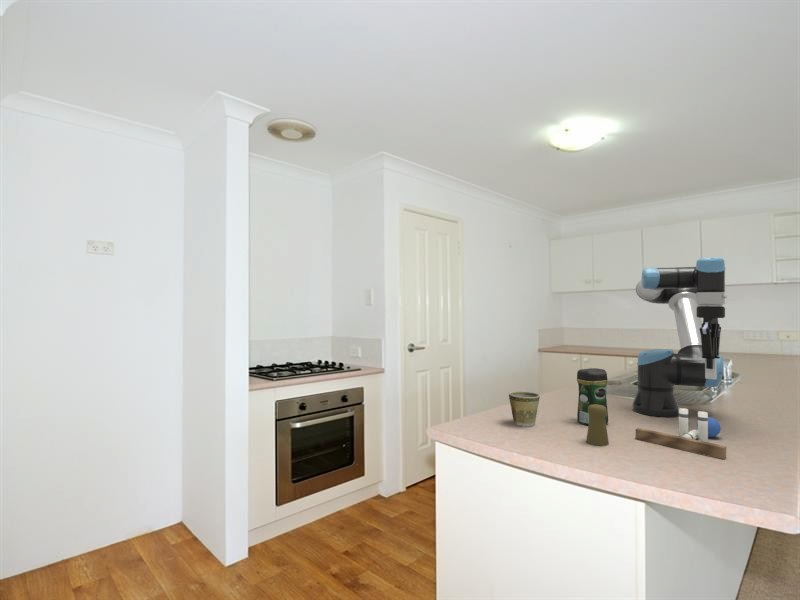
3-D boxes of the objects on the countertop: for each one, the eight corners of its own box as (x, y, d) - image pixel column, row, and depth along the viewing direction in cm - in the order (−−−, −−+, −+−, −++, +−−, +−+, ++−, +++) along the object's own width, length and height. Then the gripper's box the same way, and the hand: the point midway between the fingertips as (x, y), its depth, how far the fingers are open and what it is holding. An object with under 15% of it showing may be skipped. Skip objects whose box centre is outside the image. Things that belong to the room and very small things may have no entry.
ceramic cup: (533, 430, 140) (533, 398, 140) (504, 424, 146) (504, 394, 146) (546, 421, 150) (546, 392, 151) (519, 416, 157) (519, 388, 157)
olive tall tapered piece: (611, 446, 124) (611, 407, 124) (588, 445, 125) (588, 406, 125) (605, 440, 130) (605, 403, 130) (584, 438, 131) (584, 402, 131)
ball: (705, 409, 134) (702, 419, 138) (694, 422, 132) (691, 431, 136) (727, 421, 130) (722, 431, 134) (715, 435, 128) (711, 444, 132)
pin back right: (697, 441, 128) (697, 412, 128) (698, 439, 130) (698, 410, 130) (707, 443, 127) (707, 413, 127) (708, 441, 129) (708, 412, 129)
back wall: (635, 438, 131) (635, 428, 131) (638, 437, 132) (638, 427, 132) (723, 459, 114) (723, 447, 114) (726, 457, 115) (726, 446, 115)
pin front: (691, 437, 133) (682, 443, 127) (689, 429, 133) (680, 434, 128) (701, 437, 131) (691, 443, 125) (699, 429, 131) (689, 434, 126)
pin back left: (678, 437, 132) (677, 409, 132) (679, 435, 134) (679, 407, 134) (687, 439, 131) (687, 410, 131) (689, 437, 132) (689, 408, 133)
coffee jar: (594, 418, 154) (594, 366, 154) (612, 424, 146) (612, 369, 147) (572, 421, 150) (572, 367, 151) (590, 427, 143) (589, 370, 143)
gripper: (717, 305, 134) (718, 382, 134) (730, 305, 142) (731, 378, 142) (689, 305, 140) (690, 379, 140) (703, 305, 148) (704, 375, 148)
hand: (710, 378), depth 141 cm, fingers closed
